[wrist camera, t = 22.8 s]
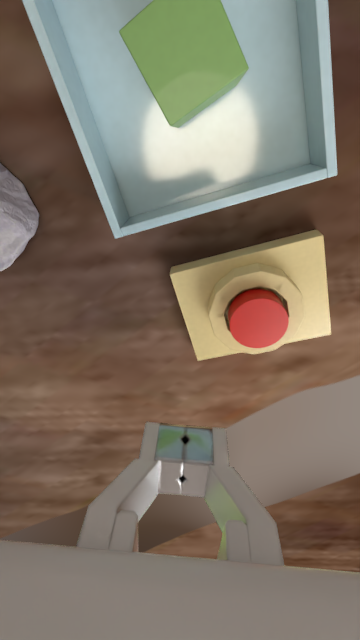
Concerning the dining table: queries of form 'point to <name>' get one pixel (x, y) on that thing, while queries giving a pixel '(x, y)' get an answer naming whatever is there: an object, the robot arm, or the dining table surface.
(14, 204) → the stone block
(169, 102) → the green block
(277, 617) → the robot arm
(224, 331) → the button housing
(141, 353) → the dining table surface
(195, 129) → the basin
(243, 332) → the button
